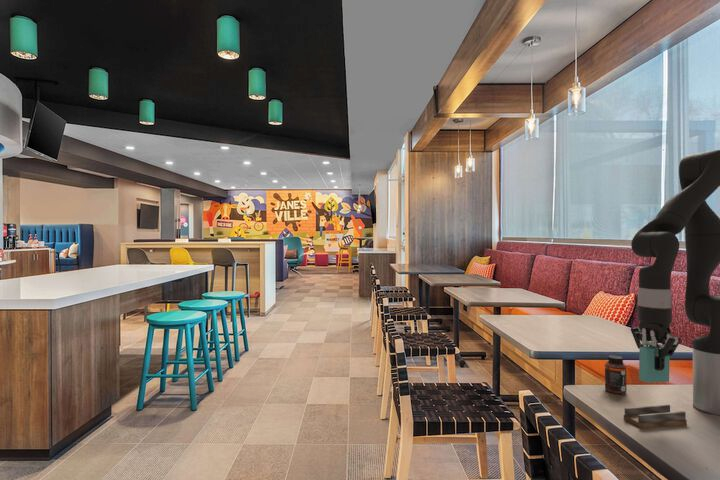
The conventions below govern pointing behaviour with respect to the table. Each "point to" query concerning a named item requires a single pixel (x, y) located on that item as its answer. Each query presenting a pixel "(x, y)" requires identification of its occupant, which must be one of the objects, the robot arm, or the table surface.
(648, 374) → the teal rectangular block
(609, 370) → the supplement bottle
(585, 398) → the table surface
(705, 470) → the table surface
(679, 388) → the table surface
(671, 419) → the floor track
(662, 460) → the table surface
